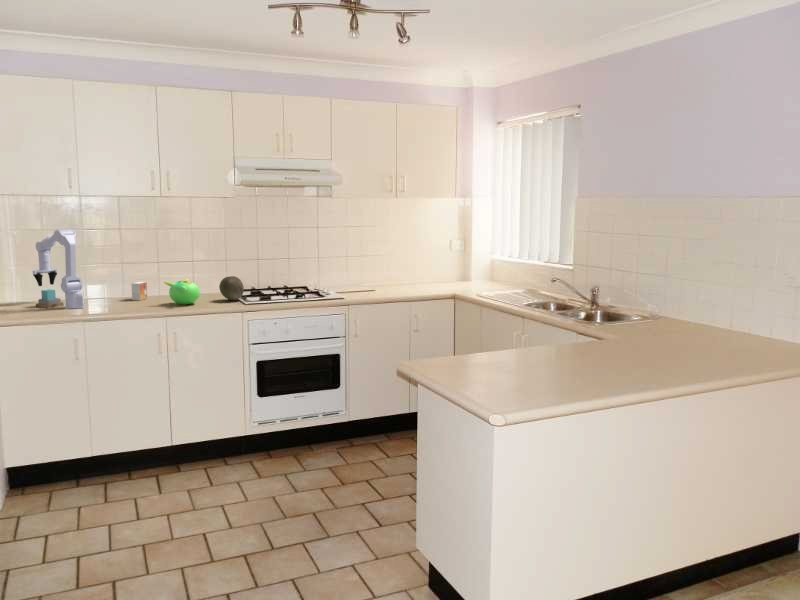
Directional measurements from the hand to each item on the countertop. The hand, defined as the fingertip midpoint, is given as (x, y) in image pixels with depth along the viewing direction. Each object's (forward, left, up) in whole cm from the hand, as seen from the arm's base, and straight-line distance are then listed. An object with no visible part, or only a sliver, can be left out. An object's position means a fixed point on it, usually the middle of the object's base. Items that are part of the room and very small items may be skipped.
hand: (46, 285), depth 399 cm
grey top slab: (-3, +13, -9) cm, 16 cm away
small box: (-51, +2, -11) cm, 52 cm away
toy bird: (-76, +27, -11) cm, 81 cm away
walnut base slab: (-3, +13, -11) cm, 17 cm away
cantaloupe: (-104, +21, -11) cm, 107 cm away
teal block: (-3, +13, -6) cm, 15 cm away
